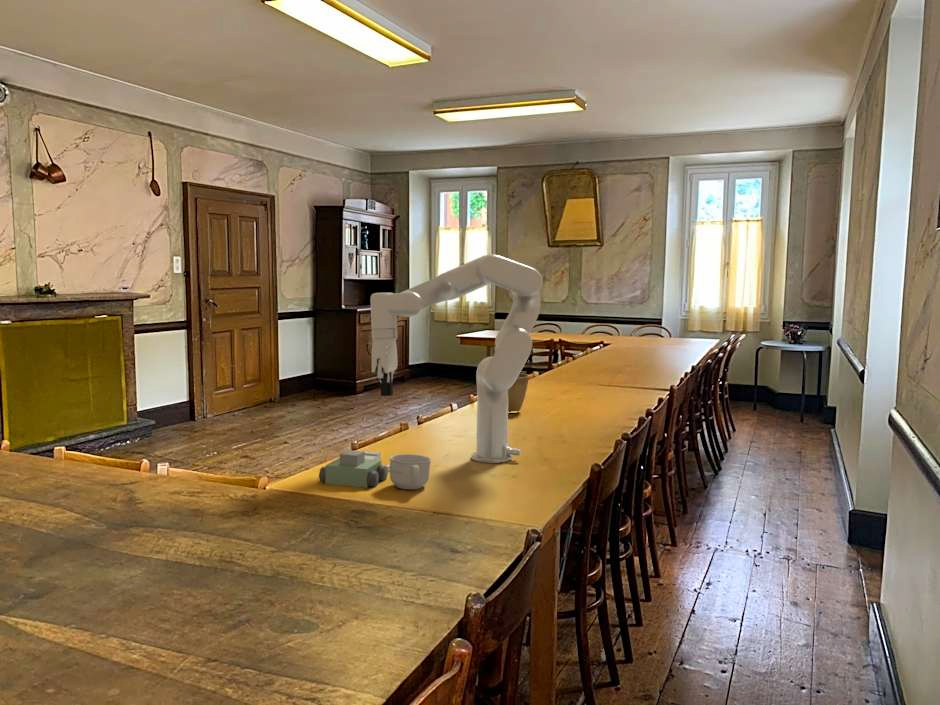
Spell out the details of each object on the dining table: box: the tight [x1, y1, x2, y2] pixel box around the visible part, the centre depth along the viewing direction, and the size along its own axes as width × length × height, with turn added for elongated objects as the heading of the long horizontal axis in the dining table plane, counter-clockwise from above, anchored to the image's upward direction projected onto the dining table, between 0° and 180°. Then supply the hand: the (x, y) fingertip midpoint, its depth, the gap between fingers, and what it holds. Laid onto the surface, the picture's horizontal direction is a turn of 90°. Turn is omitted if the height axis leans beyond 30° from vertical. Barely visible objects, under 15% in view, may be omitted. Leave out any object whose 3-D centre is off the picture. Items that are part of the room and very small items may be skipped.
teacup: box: [389, 453, 432, 490], centre depth 189 cm, size 14×11×8 cm
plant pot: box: [508, 372, 530, 412], centre depth 302 cm, size 15×15×16 cm
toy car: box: [318, 449, 390, 489], centre depth 200 cm, size 16×19×8 cm
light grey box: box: [364, 450, 382, 461], centre depth 204 cm, size 6×7×6 cm
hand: (386, 395), depth 215 cm, fingers closed
